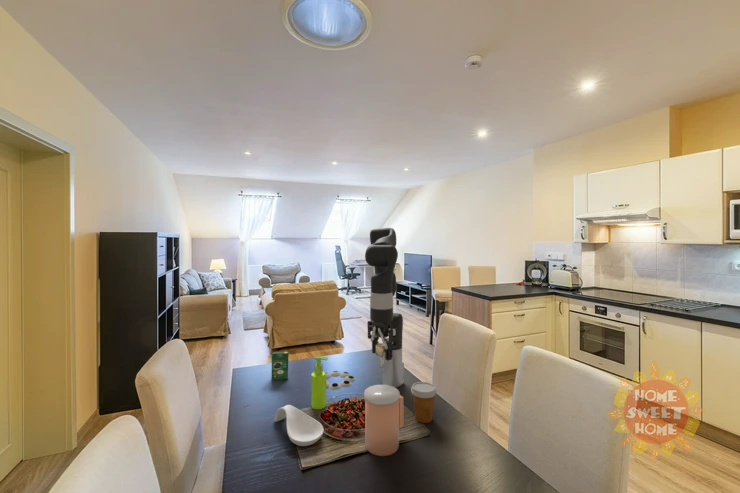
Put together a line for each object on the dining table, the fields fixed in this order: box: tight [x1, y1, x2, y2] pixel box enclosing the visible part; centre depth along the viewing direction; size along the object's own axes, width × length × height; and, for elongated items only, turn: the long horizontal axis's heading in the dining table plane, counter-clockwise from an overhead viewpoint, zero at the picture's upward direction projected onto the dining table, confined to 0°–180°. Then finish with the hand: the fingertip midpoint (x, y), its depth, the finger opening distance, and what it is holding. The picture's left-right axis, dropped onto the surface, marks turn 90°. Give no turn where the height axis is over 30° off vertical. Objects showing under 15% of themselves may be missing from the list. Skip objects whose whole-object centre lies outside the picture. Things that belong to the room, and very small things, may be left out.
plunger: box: [375, 342, 386, 369], centre depth 103 cm, size 4×4×7 cm
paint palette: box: [325, 370, 356, 390], centre depth 151 cm, size 20×20×2 cm
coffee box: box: [271, 351, 289, 382], centre depth 153 cm, size 8×3×13 cm, turn 103°
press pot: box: [363, 384, 405, 457], centre depth 103 cm, size 14×12×17 cm
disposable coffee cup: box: [410, 381, 437, 424], centre depth 118 cm, size 10×10×12 cm
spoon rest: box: [273, 404, 325, 447], centre depth 110 cm, size 24×12×7 cm, turn 46°
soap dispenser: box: [310, 355, 329, 410], centre depth 128 cm, size 6×7×20 cm
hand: (381, 356), depth 103 cm, fingers open, 7 cm apart
